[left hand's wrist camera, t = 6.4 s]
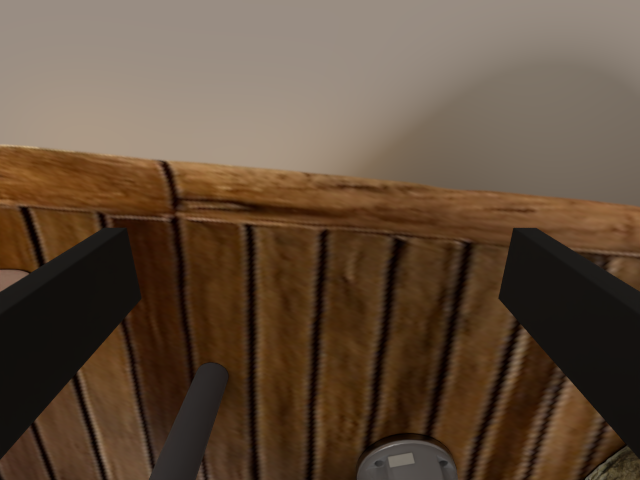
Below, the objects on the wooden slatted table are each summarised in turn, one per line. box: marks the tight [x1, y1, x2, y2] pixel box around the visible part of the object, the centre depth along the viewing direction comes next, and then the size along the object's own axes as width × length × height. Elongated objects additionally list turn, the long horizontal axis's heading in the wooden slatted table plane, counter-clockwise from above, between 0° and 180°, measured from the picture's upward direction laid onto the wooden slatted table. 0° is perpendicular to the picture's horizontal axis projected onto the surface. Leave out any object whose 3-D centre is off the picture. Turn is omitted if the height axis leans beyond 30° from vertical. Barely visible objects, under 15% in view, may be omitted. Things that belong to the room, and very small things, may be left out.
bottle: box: [149, 363, 228, 480], centre depth 41 cm, size 4×4×19 cm
